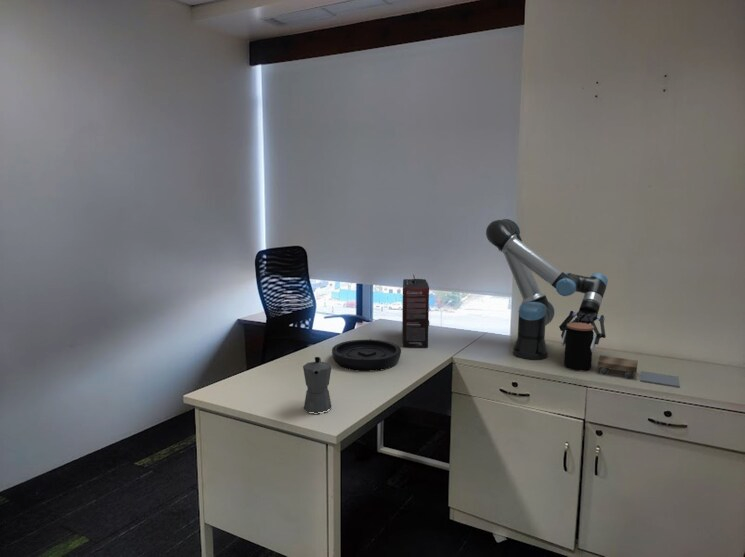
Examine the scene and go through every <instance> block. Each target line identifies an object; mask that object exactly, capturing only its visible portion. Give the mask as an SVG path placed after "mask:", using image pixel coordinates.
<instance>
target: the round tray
mask: <svg viewBox="0 0 745 557" xmlns="http://www.w3.org/2000/svg"><path fill="white" fill-rule="evenodd" d="M401 353H402V348H401V347H400V346H399V345H397V344H395V343H393V342H390V341H386V340H381V339H354V340H346V341H343V342H340V343H337V344H335V345H334V346H333V347H332V349H331V354H332V355H331V356H332V357H333V358H332V359H333V360H334V362H335V363H336V365H337V366H338V367H341V368H342V369H345V368H346V369H347V370H349V369H350V371H355V370H359V372H371V371H370V370H378V371H382V370H381V369H384V370H387V369H390V368H393V367H394V366H396V365H397V364H398V362H399V360H400V359H401ZM395 364H396V365H395ZM392 366H393V367H392ZM389 367H390V368H389ZM386 368H387V369H386Z"/></svg>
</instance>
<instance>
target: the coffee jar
mask: <svg viewBox="0 0 745 557" xmlns="http://www.w3.org/2000/svg"><path fill="white" fill-rule="evenodd" d="M594 335H595V331H594V326H593V325H591V323H590V324H586V323H576V322H575V323H571V322H570V323H568V324H567V330H566V340H565V345H564V357H563V358H564V359H563V365H564V366H565V367H566V368H567V369H569V368H570V370H573V369H574V370H573V371H579V370H585V371H588V370H590V368H592V363H593V362H592V360H593V352H591V349H590V347H591V344H592V341H593V338H594Z"/></svg>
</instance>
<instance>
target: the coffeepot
mask: <svg viewBox="0 0 745 557" xmlns="http://www.w3.org/2000/svg"><path fill="white" fill-rule="evenodd" d="M302 369H303V375H304V380H305V386H306V387H307V390H306V392H305V398H304V399H305V400H304V406H303V409H304V411H305V410H306V411H307V412H314V413H318V412H323V411H327V410H328V409H330V408H331V407H333V406H332V401H331V396H330V391H329V389H328V386H329V384H330V379H331V373H332V364H330V363H329V362H327V361H322V360H321V357H320V356H315V357H314V361H311V362H306V364H304V365H302ZM331 409H332V408H331ZM331 409H330V410H331ZM306 411H305V412H306ZM307 412H306V413H307Z"/></svg>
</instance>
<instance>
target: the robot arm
mask: <svg viewBox="0 0 745 557" xmlns="http://www.w3.org/2000/svg"><path fill="white" fill-rule="evenodd" d="M520 234H521V230H520V227H519V224H518V223H517V222H516V221H515V220H512V219H507V218H504V219H496V220H493V221H492V222H490V223H489V224H488V225H487V227H486V230H485V236H486V239H487V240H488V242H490V244H492V245H493V246H494V247H495V248H497V249H498V251H499V252H500V253H503V256H504V257H505V260H506V262H507V265H508V267H509V269H510V272H511V275H512V276H513V279H514V281H515V284H516V286H517V288H518V291H519V292H520V295H521V297H522V301H521V304H520V305H519V307H518V322H517V338H516V340H515V343H514V345H513V347H512V354H513V355H514V356H515V357H518V358H521V359H525V360H526V359H527V360H534V361H535V360H536V361H537V360H544V359H547V358H548V355H549V351H548V348H547V345H546V344H547V343H546V338H545V337H546V335H545V334H546V326H547V325H548V324H550V323H551V322H552V321H553V319H554V316H555V308H554V305H553V304H552V303H551V302H550V301H548V298H547V296H546V293H543V292H542V291H541V290H540V288H539V285H538V283H537V280H536V278H535V276H534V274H535V275H537V276H538V277H540V278H541V279H542V280H544V281H545V282H546V283H548V284H550V286H552V288H554V289H555V291H556V292H557V294H558V295H560V296H562V297H568V296H569V297H570V296H572V295H574V294H575V292H577V293H582V294H583V298H582V300H581V304H580V305H579V309H578V312H574V310H570V312H569V314H568V316H567V317H566V318H565V319H564V320H563V321H562V323H561V324H560V325H559V326H558V327H559V329H560V331H561V335H560V337H561V342H560V344H561V346H562V347H565V340H566V330H567V324H568V323H575V322H576V323H586V324H590V325H593V326H594V330H593V332H594V336H593V341H592V344H591V347H590V349H591V352H592V353H594V350H595V347H596V345H599V342H600V340H601V339H602V338H603V339H605V338H606V330H605V324H604V323H605V316H604V314H602V315H599V311H600V307H601V305H602V302H603V298H604V296H605V293H606V289H607V286H608V280H609V279H608V277H607V276H606V275H605V274H602V273H600V272H597V273H596V272H595V273H592V274H591V275H590V276H584V275H579V274H575V273H571V272H563V270H561V269H560V268H558V267H557V266H556V265H554V264H553V263H552V262H550V261H549V260H547V259H546V258H545V257H543V256H542V255H540V254H539V253H538V252H537V251H535V250H534V249H532V248H531V247H529V246H528V245H527V244H526V243H524V242H523V240H522V238H521V235H520ZM533 273H534V274H533ZM573 319H574V320H573ZM597 320H598V321H599V325H600V326H599V327H600V331H599V329H598V327H597V325H596V323H595V321H597ZM600 332H601V333H600Z"/></svg>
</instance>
